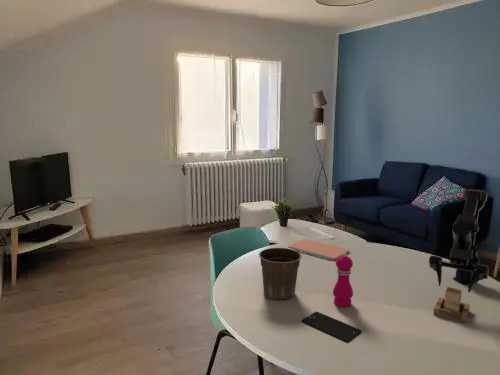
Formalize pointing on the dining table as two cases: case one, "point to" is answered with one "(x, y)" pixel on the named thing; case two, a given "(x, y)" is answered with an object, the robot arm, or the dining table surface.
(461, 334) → the dining table surface
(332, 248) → the notebook
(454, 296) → the oak block
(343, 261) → the pepper mill
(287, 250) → the plant pot
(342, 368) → the dining table surface
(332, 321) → the cell phone
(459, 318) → the walnut holder
